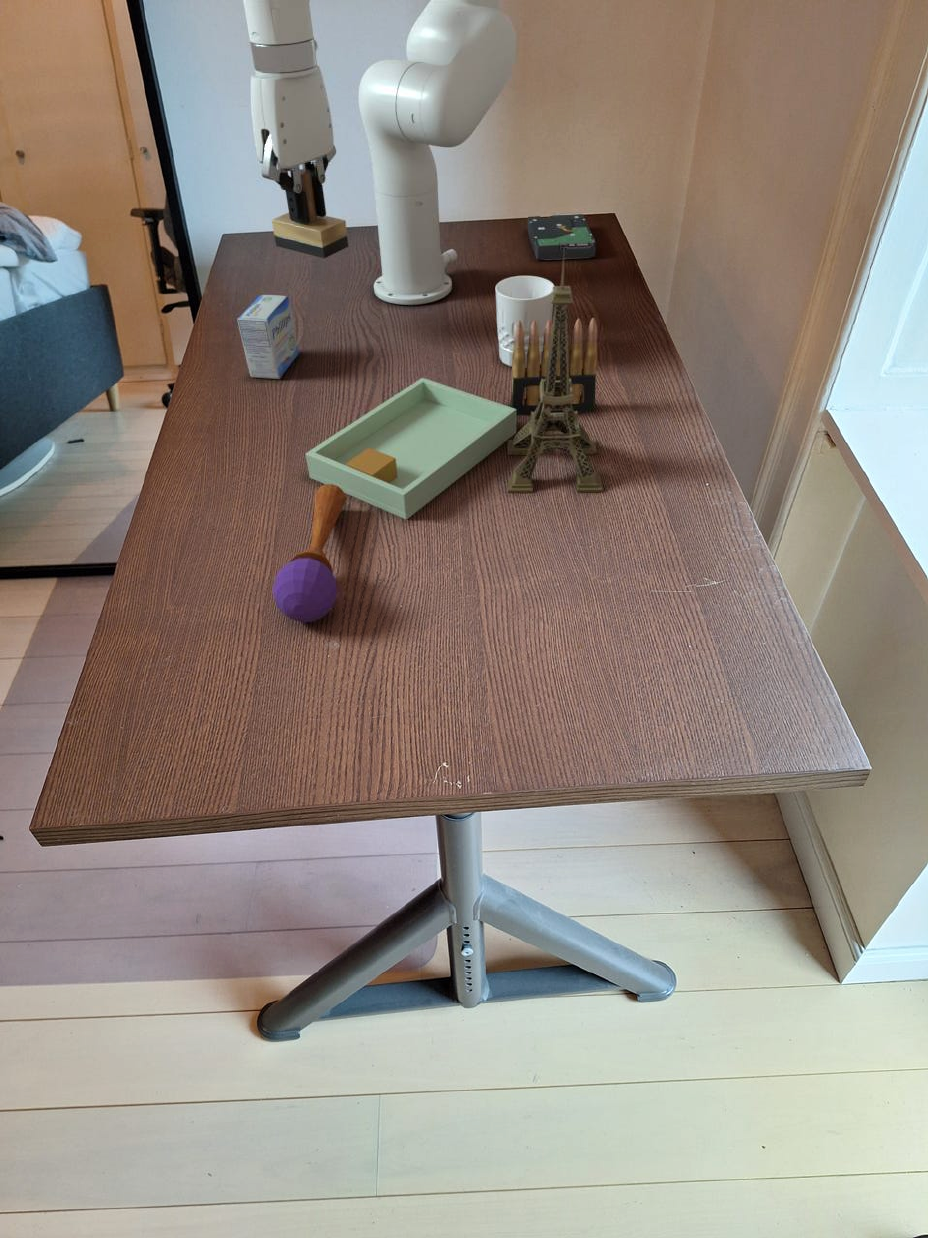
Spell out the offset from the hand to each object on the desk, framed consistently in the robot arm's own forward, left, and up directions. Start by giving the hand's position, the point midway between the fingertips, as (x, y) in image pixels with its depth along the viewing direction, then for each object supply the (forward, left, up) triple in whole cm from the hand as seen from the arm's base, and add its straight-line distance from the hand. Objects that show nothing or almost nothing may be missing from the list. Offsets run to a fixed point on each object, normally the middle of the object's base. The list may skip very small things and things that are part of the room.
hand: (308, 216), depth 115 cm
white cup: (-10, +28, -17) cm, 35 cm away
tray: (+18, +31, -17) cm, 40 cm away
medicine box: (+11, 0, -17) cm, 20 cm away
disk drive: (-50, +10, -17) cm, 54 cm away
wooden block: (+25, +31, -16) cm, 43 cm away
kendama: (+40, +36, -17) cm, 56 cm away
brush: (0, 0, -4) cm, 4 cm away
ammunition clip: (0, +39, -17) cm, 43 cm away
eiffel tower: (+11, +46, -17) cm, 50 cm away
